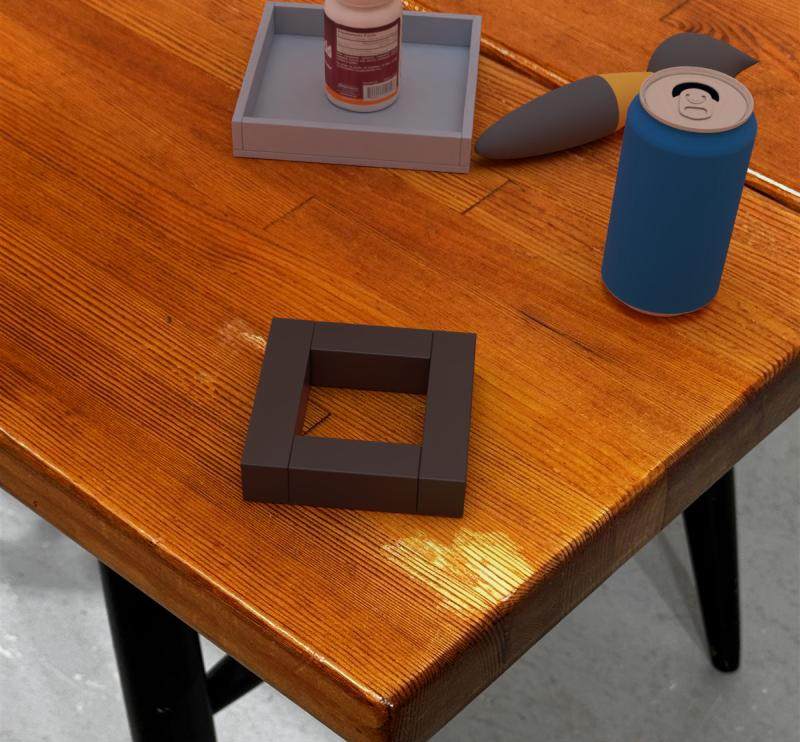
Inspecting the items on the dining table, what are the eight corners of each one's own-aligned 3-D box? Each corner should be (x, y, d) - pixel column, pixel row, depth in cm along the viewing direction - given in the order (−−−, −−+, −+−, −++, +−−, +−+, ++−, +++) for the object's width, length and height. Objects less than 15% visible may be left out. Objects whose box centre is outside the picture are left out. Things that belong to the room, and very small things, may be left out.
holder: (242, 500, 69) (240, 464, 67) (273, 353, 76) (272, 316, 74) (462, 518, 68) (466, 482, 66) (473, 369, 75) (476, 332, 73)
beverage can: (716, 257, 82) (761, 68, 73) (717, 332, 78) (765, 140, 69) (601, 245, 83) (632, 55, 74) (596, 318, 78) (628, 126, 70)
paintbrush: (508, 199, 85) (516, 126, 82) (461, 157, 88) (466, 84, 85) (762, 108, 93) (779, 37, 89) (711, 71, 96) (725, 1, 92)
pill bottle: (332, 69, 94) (331, -55, 88) (405, 78, 93) (410, -47, 87) (317, 109, 90) (315, -17, 84) (393, 118, 90) (397, -8, 84)
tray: (233, 156, 88) (231, 120, 86) (267, 35, 97) (266, 0, 95) (469, 174, 87) (471, 138, 85) (479, 49, 97) (482, 15, 95)
